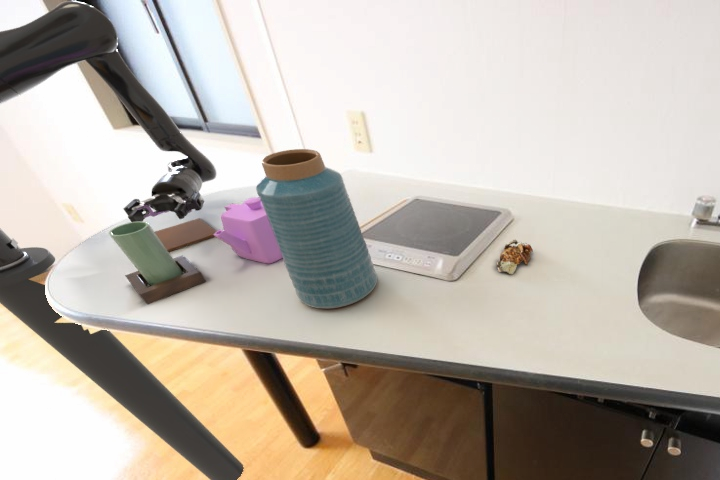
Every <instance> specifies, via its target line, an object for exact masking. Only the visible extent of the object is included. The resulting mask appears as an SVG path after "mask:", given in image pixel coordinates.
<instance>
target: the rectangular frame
mask: <svg viewBox="0 0 720 480" xmlns="http://www.w3.org/2000/svg"><path fill="white" fill-rule="evenodd" d="M172 258H173V257H172ZM173 259H174V261H175V262H176V263H177V265H178V266H179V268H180V269H181V271H182V272H183V271H184V274H182V275H180V276H177V277H174V278H172V279H169V280H166V281H164V282H161V283H158V284H156V285H153V286H150V285H149V286H147V284H149V283H148V282H147V281H146V280H145V278H144V277H143V276H142V275H141V273H140V272H139V271H138V270H137V271H133V272H131V273H127V274H125V275H124V276H125V278H126V279H127V280H128V282H129V283H130V284H131V286H132V287H133V288H134V290H135V291H136V292H137V294H138V295H139V297H141V298H142V300H143V301H144V302H145V303H146V304H147V305H150V304H153V303H155V302H158V301H160V300H163V299H165V298H168V297H171V296H173V295H175V294H178V293H180V292H183V291H186V290H188V289H191V288H193V287H196V286H198V285H201V284H203V283H206V282H207V279H206V278H205V277H204V275H203V273H202V272H201V271H200V270H199V269H198V268H197V267H196V266H195V265H194V264H193V263H192V262H191V261H190V260H189V259H188V258H186V256H185V255H179V256H176V257H174V258H173Z"/></svg>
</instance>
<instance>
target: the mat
mask: <svg viewBox="0 0 720 480" xmlns="http://www.w3.org/2000/svg"><path fill="white" fill-rule="evenodd" d="M217 231H218V230H216V229H214V228H213V227H211V226H210V225H209V224H207V223H206V222H205V221H204V220H202V219H201V218H199V217H198V218H195V219H192V220H189V221H186V222H182V223H179V224H175V225H172V226H169V227H166V228H162V229H159V230H156V231H154V232H155V234H156V235H157V237H158V238H159V239H160V241H161V242H162V244H163V245H164V246H165V248H166V249H167V251H168V252H169V253H170V252H172V251H175V250H179V249H182V248H184V247H187V246H190V245H194V244H197V243H200V242H202V241H206V240H208V239H211V238H215V236H214V235H213V234H214V233H216V232H217Z"/></svg>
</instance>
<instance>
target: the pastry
mask: <svg viewBox="0 0 720 480" xmlns="http://www.w3.org/2000/svg"><path fill="white" fill-rule="evenodd" d="M532 252H534V250H533V247H532V246H531V244H528V243H527V242H524V243H523V242H522V241H518V240H517V239H516V238H515V239H512V240H511V241H509V242H508V243H506V244H505V245H504V247H503V251H502V252H501V253H500V255H499V257H498V258H499V259H498V261H497V262H496V269H497V271H498V272H500V273H501V272H506V273H508V274H509V275H514V273H515V271H517V266H518V265H520V264H521V263H522V262H524V264H525V265H526V266H527V265H528V264H529V263H528V262H529V261H530V259H531V256H530V254H531V253H532Z"/></svg>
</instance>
